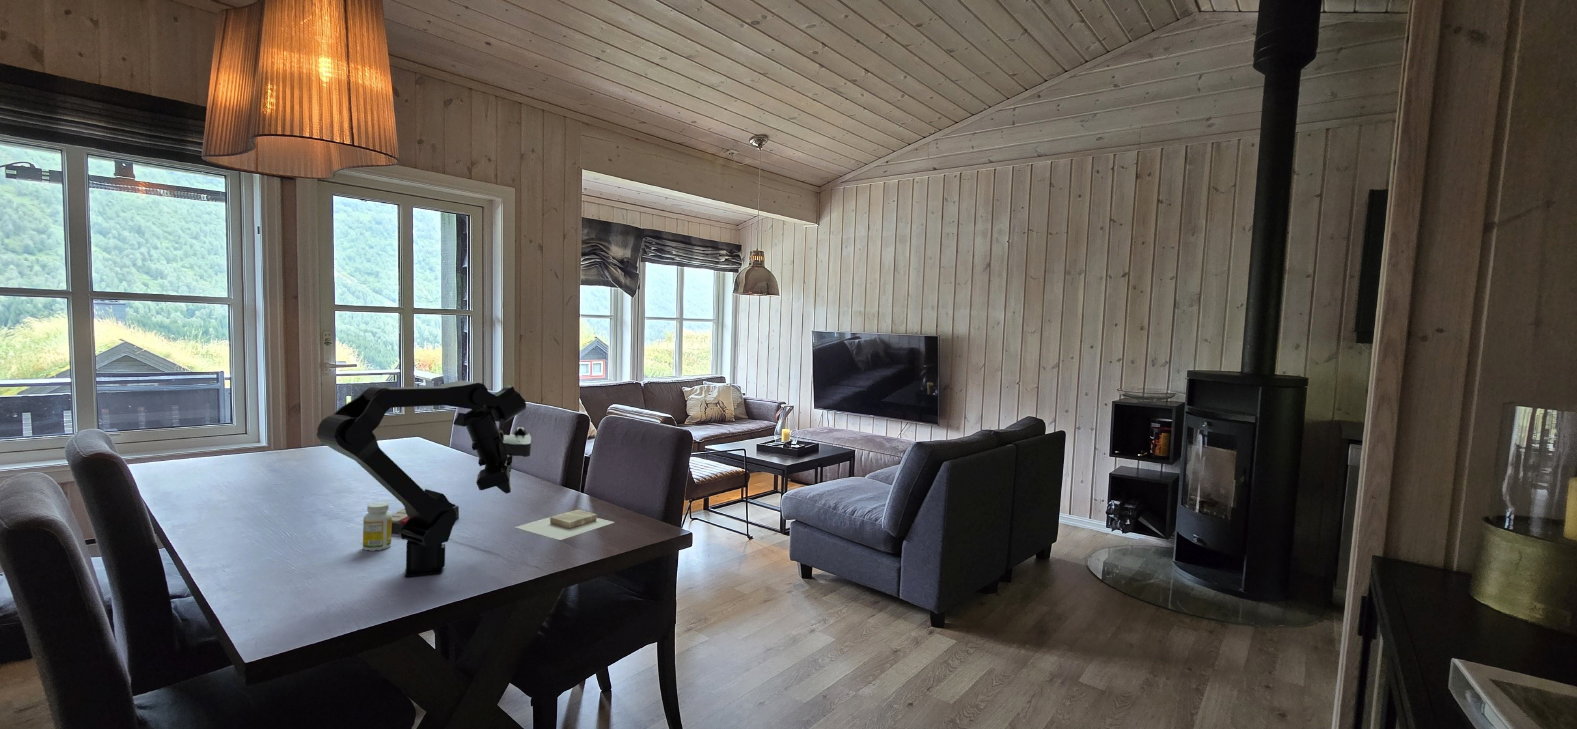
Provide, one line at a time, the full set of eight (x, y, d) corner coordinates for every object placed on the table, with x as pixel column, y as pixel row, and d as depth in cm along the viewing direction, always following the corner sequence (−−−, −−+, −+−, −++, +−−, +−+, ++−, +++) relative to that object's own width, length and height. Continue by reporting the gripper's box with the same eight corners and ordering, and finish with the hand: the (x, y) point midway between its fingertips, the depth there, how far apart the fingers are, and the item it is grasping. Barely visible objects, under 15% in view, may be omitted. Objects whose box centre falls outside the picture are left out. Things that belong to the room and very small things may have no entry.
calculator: (376, 518, 156) (420, 499, 170) (376, 536, 156) (420, 515, 171) (418, 522, 154) (459, 503, 169) (418, 540, 155) (459, 519, 169)
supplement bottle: (372, 553, 143) (372, 509, 142) (357, 548, 145) (358, 505, 144) (396, 546, 147) (397, 503, 147) (381, 541, 150) (382, 500, 149)
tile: (570, 522, 163) (596, 514, 171) (550, 517, 167) (577, 509, 175) (569, 529, 163) (596, 520, 171) (549, 523, 167) (577, 515, 175)
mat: (560, 542, 155) (560, 540, 155) (514, 529, 163) (514, 527, 163) (614, 524, 171) (614, 522, 171) (570, 513, 179) (570, 511, 178)
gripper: (520, 442, 138) (544, 502, 144) (524, 406, 154) (544, 462, 161) (464, 458, 135) (491, 519, 142) (474, 419, 152) (497, 476, 158)
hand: (508, 492), depth 151 cm, fingers closed
